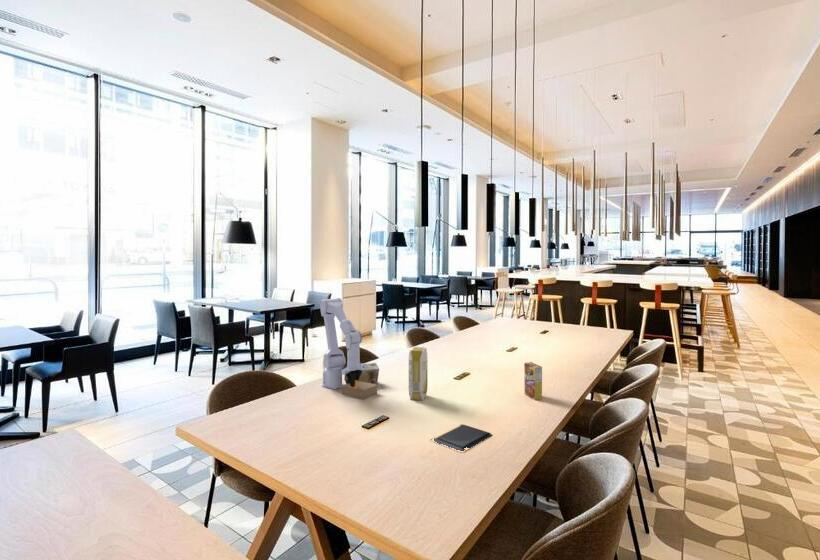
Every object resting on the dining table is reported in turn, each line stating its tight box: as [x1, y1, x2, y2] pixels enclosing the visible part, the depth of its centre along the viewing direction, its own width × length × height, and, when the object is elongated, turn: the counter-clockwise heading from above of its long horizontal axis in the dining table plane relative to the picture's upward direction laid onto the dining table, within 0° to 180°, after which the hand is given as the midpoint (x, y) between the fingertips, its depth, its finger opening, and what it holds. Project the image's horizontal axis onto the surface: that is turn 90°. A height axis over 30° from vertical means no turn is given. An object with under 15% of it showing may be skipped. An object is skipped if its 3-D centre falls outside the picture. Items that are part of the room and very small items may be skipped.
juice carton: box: [408, 345, 429, 401], centre depth 204 cm, size 9×8×24 cm
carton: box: [341, 386, 378, 400], centre depth 210 cm, size 13×10×4 cm
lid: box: [341, 380, 378, 392], centre depth 210 cm, size 13×10×4 cm
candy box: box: [523, 361, 543, 401], centre depth 205 cm, size 9×4×15 cm, turn 17°
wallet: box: [430, 424, 493, 451], centre depth 161 cm, size 20×2×15 cm
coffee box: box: [343, 362, 380, 384], centre depth 224 cm, size 9×6×16 cm
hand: (353, 386), depth 207 cm, fingers closed on lid
